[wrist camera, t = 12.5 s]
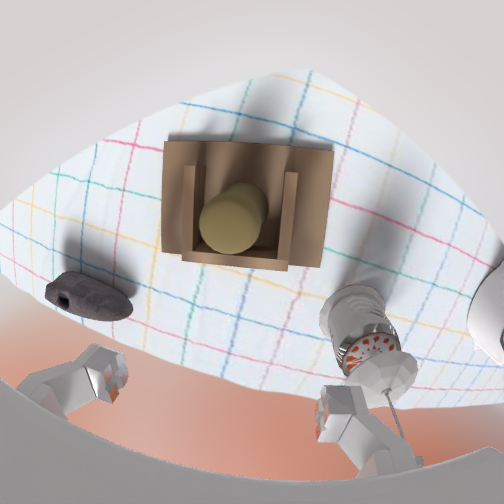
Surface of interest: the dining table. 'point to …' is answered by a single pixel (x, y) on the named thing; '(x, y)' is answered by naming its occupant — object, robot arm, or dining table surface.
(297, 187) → the u rest
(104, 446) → the robot arm
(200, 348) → the dining table surface
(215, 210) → the cork
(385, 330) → the french press
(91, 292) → the perforated stone tool
